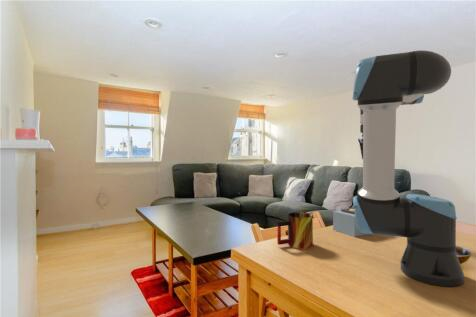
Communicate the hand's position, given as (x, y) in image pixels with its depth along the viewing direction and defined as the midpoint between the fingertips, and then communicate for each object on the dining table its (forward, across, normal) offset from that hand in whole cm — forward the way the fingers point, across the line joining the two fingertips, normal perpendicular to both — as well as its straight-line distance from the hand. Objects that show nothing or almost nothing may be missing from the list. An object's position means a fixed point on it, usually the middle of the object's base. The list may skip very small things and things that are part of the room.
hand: (369, 174), depth 120 cm
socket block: (+27, -5, +5) cm, 27 cm away
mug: (+27, -41, +3) cm, 49 cm away
